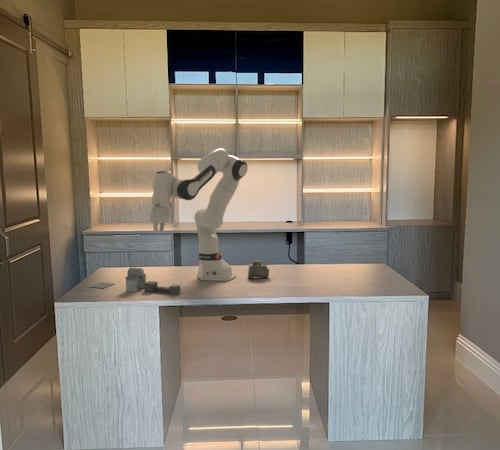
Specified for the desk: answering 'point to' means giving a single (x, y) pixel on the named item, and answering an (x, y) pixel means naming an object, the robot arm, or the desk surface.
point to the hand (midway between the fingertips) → (158, 231)
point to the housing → (135, 279)
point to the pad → (102, 285)
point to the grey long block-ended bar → (161, 288)
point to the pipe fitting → (258, 270)
